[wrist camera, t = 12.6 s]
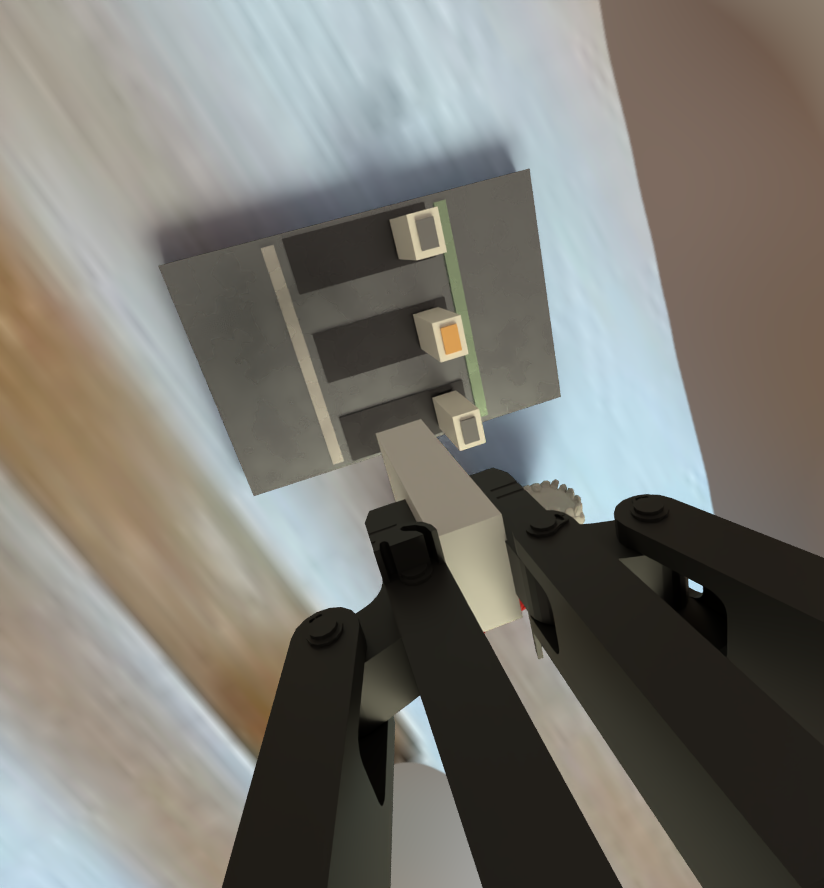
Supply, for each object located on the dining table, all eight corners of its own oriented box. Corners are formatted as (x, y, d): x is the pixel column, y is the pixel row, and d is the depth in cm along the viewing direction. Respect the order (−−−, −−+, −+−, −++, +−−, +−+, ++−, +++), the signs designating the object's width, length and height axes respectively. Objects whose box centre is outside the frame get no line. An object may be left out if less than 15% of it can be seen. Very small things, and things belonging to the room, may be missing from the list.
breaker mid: (421, 349, 36) (441, 363, 31) (412, 314, 35) (432, 323, 30) (445, 341, 36) (469, 354, 32) (438, 307, 35) (461, 315, 31)
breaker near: (398, 259, 34) (417, 260, 29) (389, 219, 33) (407, 214, 28) (425, 251, 34) (448, 251, 29) (416, 212, 33) (438, 206, 28)
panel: (255, 484, 39) (253, 497, 37) (165, 264, 33) (157, 265, 31) (548, 390, 42) (562, 397, 40) (516, 172, 36) (530, 168, 34)
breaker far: (439, 428, 38) (461, 452, 34) (432, 397, 37) (453, 418, 33) (462, 420, 39) (486, 443, 34) (455, 390, 38) (480, 409, 33)
